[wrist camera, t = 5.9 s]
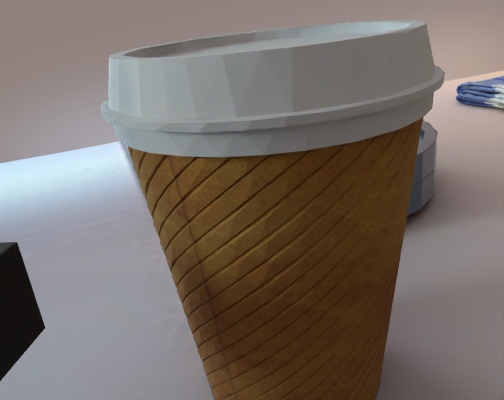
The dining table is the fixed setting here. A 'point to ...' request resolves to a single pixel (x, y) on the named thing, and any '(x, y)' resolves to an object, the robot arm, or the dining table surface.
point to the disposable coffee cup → (281, 193)
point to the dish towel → (482, 93)
